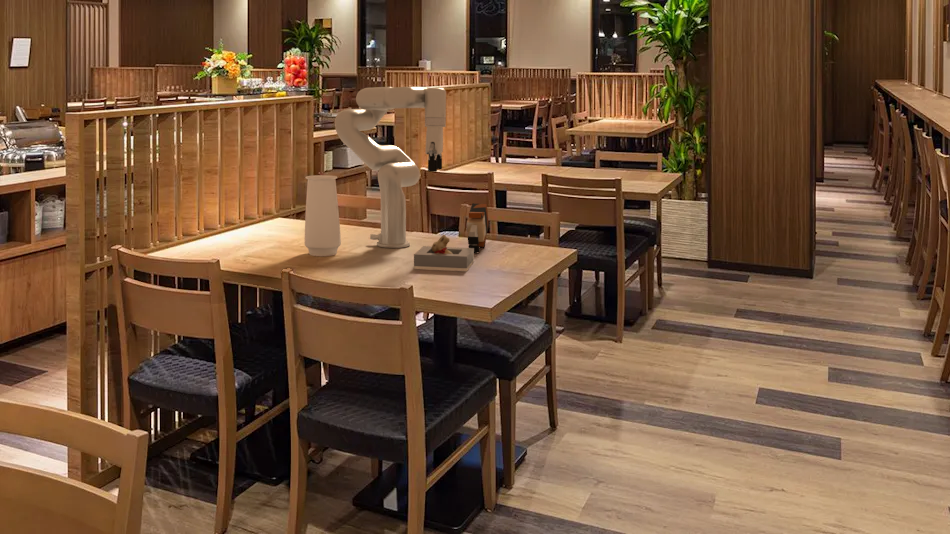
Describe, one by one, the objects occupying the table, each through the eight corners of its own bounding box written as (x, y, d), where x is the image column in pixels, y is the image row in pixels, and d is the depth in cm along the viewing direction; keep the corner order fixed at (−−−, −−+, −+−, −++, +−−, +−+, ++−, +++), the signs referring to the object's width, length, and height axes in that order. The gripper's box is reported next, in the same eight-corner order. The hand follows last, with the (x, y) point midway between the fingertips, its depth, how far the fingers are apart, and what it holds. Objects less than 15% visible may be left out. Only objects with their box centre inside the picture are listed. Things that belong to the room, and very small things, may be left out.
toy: (476, 228, 324) (486, 198, 340) (461, 227, 325) (471, 198, 341) (480, 263, 334) (489, 232, 349) (465, 262, 335) (474, 232, 350)
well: (413, 269, 300) (413, 254, 299) (423, 260, 316) (423, 246, 315) (466, 271, 298) (467, 256, 297) (473, 262, 313) (473, 248, 312)
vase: (301, 251, 328) (299, 175, 323) (336, 249, 333) (334, 174, 328) (309, 258, 317) (307, 179, 311) (345, 255, 322) (343, 178, 316)
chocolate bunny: (440, 259, 311) (440, 231, 309) (458, 262, 307) (458, 234, 305) (430, 262, 307) (430, 233, 305) (447, 265, 302) (448, 236, 300)
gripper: (429, 121, 331) (429, 167, 334) (420, 123, 314) (420, 172, 317) (449, 122, 330) (449, 168, 333) (441, 123, 313) (440, 172, 316)
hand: (435, 170), depth 325 cm, fingers open, 9 cm apart
